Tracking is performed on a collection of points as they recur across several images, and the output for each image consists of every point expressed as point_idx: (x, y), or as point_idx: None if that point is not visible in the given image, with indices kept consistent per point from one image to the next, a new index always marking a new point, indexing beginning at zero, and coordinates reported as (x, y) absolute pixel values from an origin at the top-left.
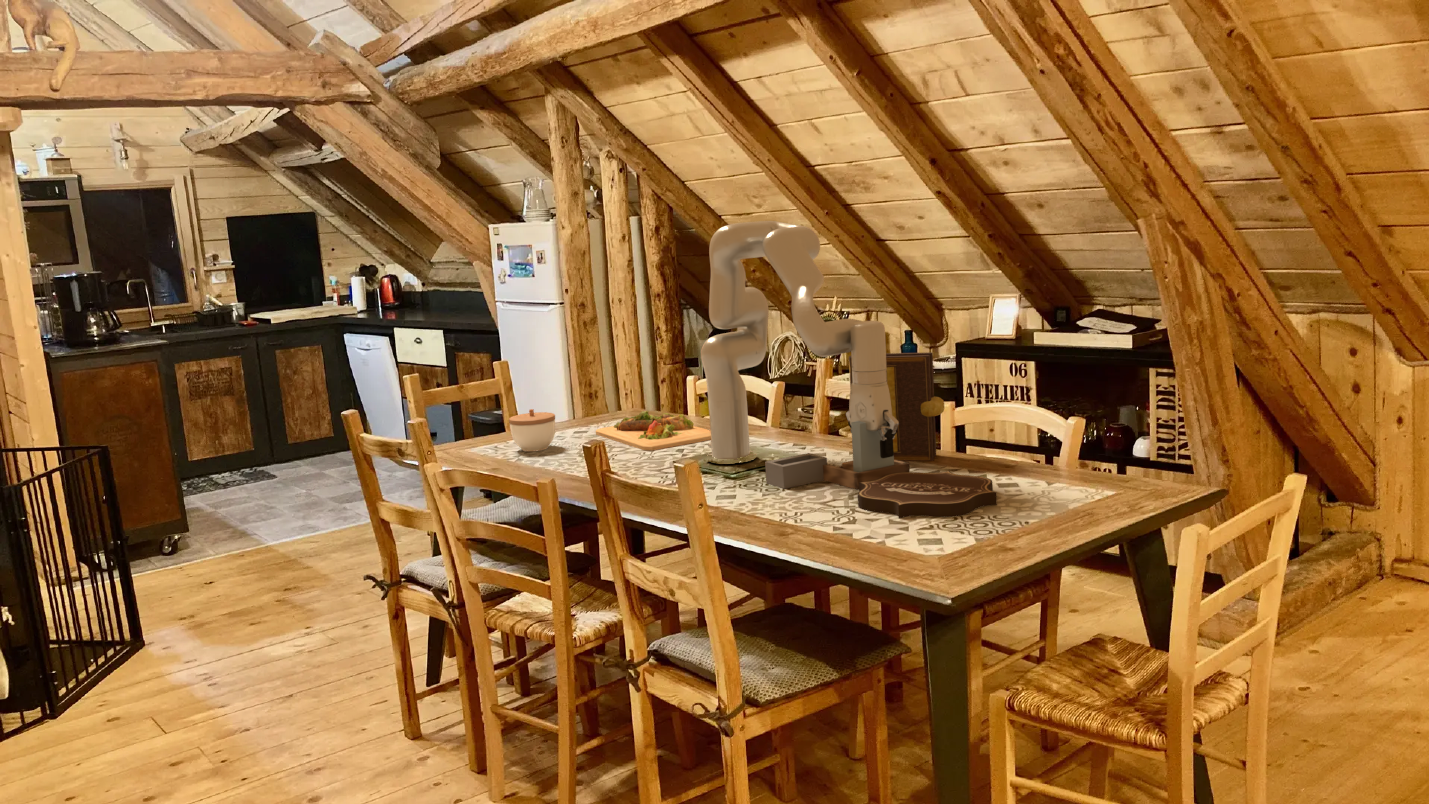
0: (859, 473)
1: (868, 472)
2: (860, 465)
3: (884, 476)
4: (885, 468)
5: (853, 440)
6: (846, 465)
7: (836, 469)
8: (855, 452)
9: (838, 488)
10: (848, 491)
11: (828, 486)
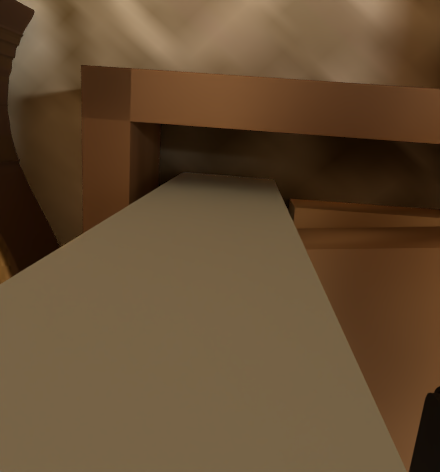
0: (95, 101)
1: (84, 190)
2: (167, 194)
3: (2, 252)
4: None
5: (273, 290)
6: (429, 243)
7: (408, 87)
8: (232, 226)
9: (270, 19)
10: (149, 11)
11: (375, 7)
